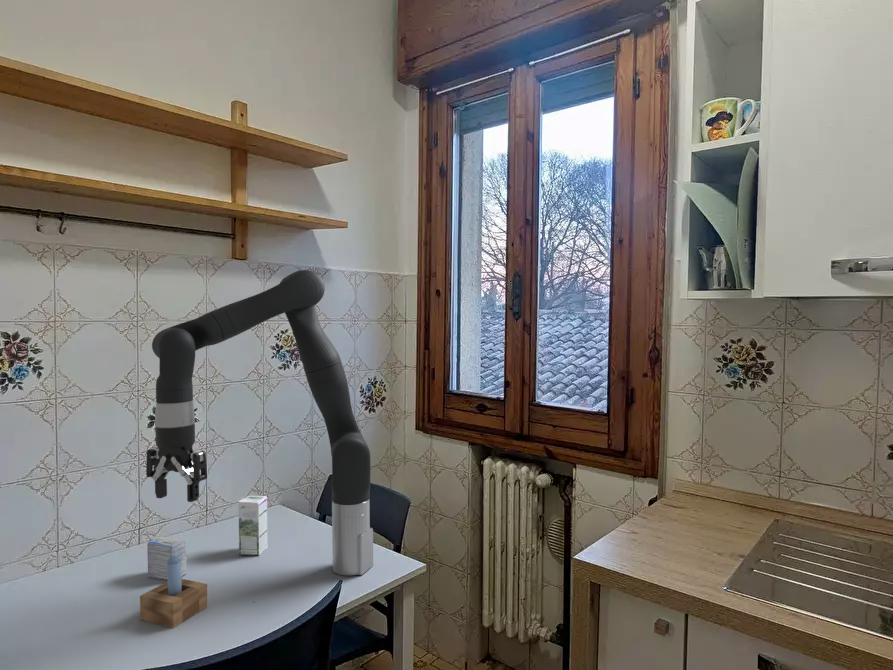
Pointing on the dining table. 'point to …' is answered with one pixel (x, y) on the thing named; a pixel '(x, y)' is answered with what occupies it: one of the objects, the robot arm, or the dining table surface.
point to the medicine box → (165, 555)
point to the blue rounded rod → (174, 575)
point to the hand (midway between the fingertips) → (176, 499)
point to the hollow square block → (173, 603)
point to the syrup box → (252, 525)
